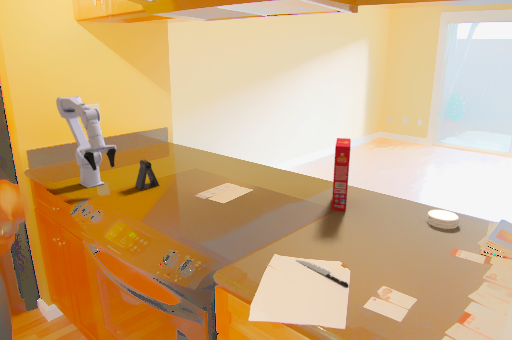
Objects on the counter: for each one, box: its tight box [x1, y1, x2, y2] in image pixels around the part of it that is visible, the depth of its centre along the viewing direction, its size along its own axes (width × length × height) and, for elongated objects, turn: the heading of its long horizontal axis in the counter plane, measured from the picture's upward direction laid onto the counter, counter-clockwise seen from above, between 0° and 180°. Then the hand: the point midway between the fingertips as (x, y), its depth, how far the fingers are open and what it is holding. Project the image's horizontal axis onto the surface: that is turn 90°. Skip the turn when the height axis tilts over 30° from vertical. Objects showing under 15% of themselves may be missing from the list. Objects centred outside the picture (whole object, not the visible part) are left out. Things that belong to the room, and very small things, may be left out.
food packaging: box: [331, 137, 352, 212], centre depth 146 cm, size 15×5×25 cm, turn 166°
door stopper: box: [135, 159, 160, 191], centre depth 168 cm, size 9×6×12 cm, turn 128°
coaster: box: [426, 209, 460, 230], centre depth 131 cm, size 10×10×4 cm
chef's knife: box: [295, 259, 349, 287], centre depth 102 cm, size 19×1×3 cm
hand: (104, 168), depth 158 cm, fingers open, 7 cm apart
